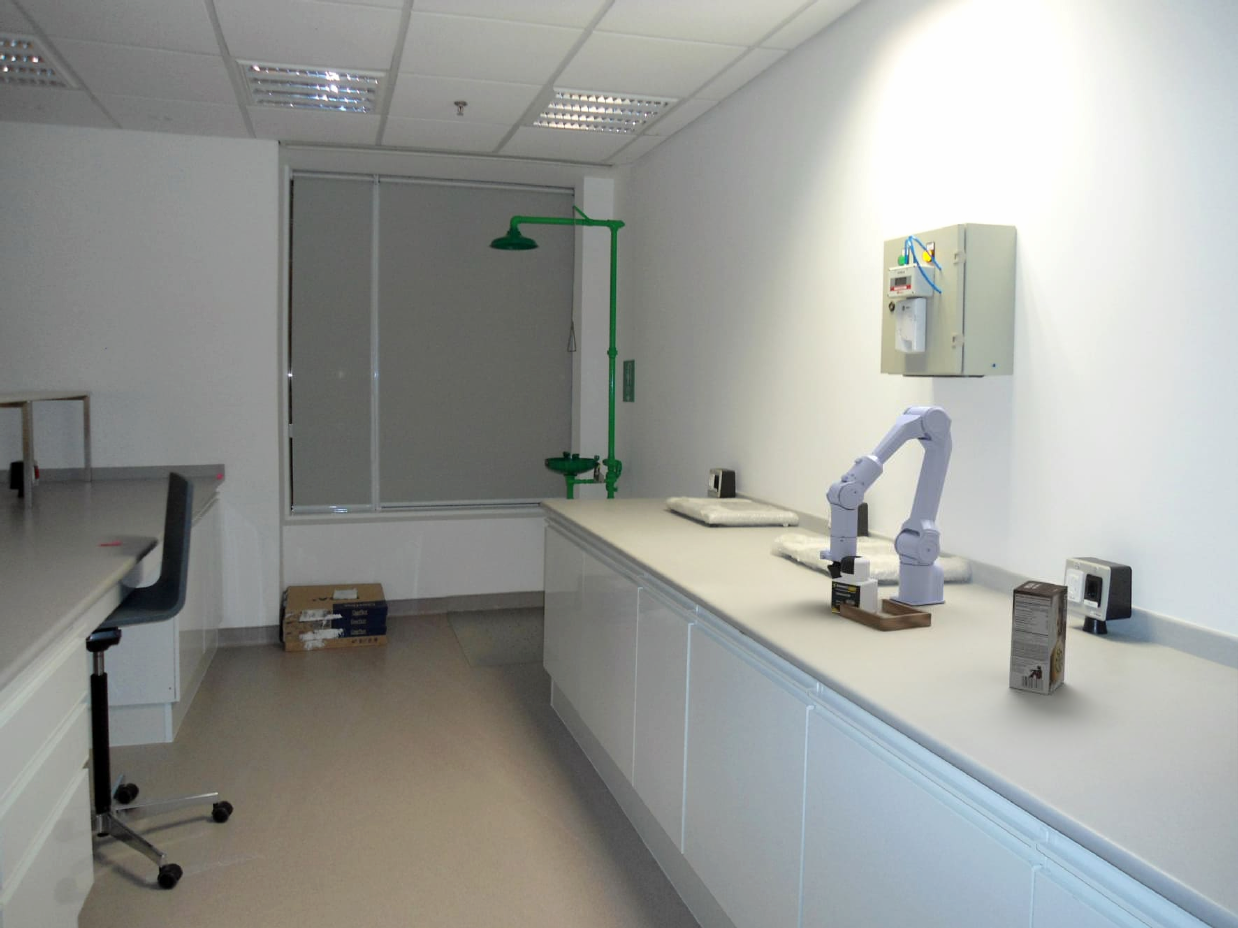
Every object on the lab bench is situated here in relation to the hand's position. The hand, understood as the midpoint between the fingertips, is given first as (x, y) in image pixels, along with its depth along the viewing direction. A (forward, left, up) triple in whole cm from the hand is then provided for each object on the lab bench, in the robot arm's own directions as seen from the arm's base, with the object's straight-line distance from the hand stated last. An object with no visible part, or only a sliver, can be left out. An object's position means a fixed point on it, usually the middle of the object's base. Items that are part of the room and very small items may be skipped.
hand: (841, 596), depth 205 cm
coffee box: (+5, +58, -2) cm, 58 cm away
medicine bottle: (+2, +6, -2) cm, 7 cm away
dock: (0, +14, -2) cm, 14 cm away
